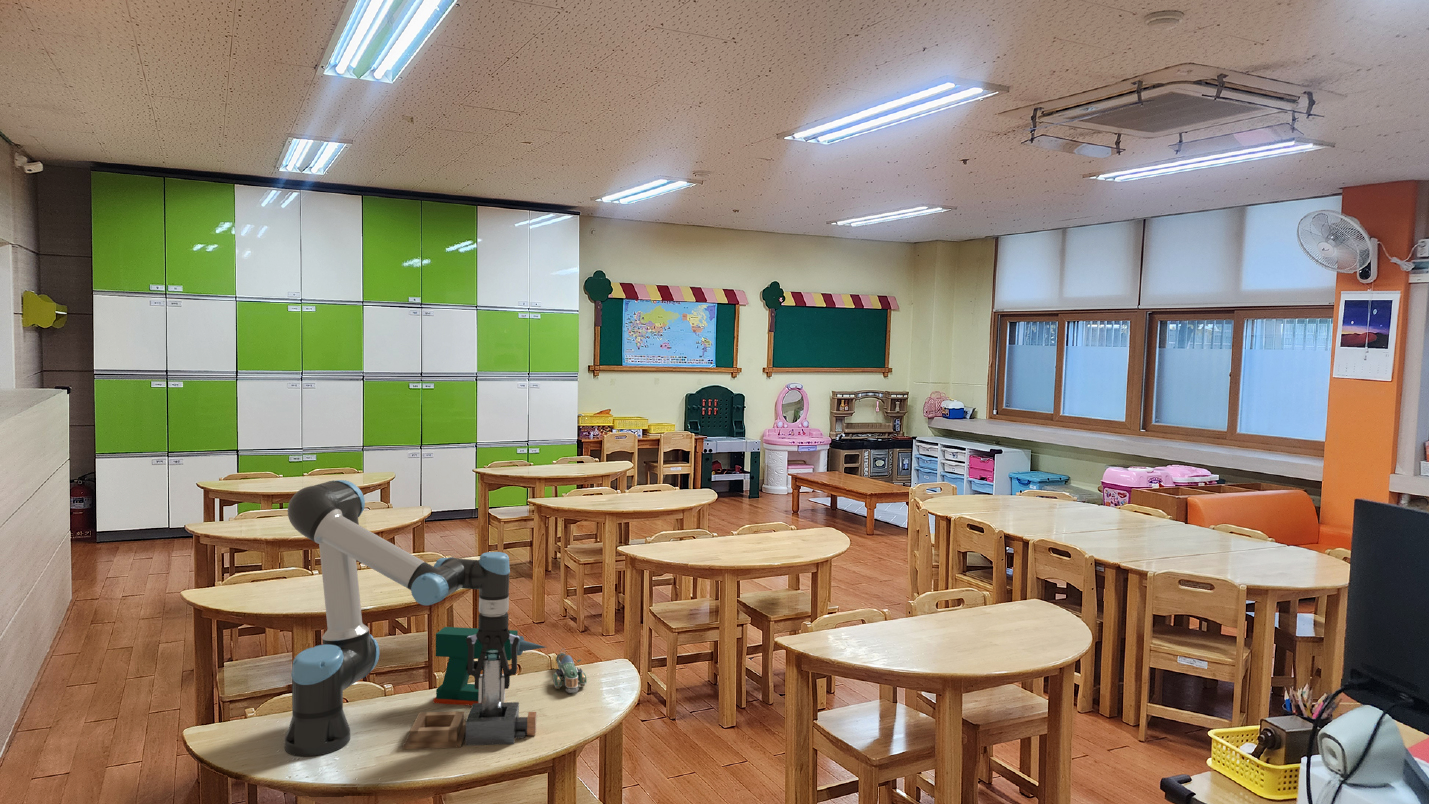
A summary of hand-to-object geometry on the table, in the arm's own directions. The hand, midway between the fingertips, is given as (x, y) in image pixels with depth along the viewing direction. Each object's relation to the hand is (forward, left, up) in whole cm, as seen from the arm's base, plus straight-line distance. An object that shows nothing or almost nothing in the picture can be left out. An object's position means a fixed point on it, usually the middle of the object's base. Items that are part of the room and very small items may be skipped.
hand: (491, 700), depth 227 cm
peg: (0, 0, -7) cm, 7 cm away
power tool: (-3, +22, -9) cm, 24 cm away
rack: (-14, 0, -9) cm, 16 cm away
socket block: (+2, 0, -9) cm, 9 cm away
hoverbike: (+17, +37, -9) cm, 42 cm away
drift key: (+7, 0, -9) cm, 11 cm away
